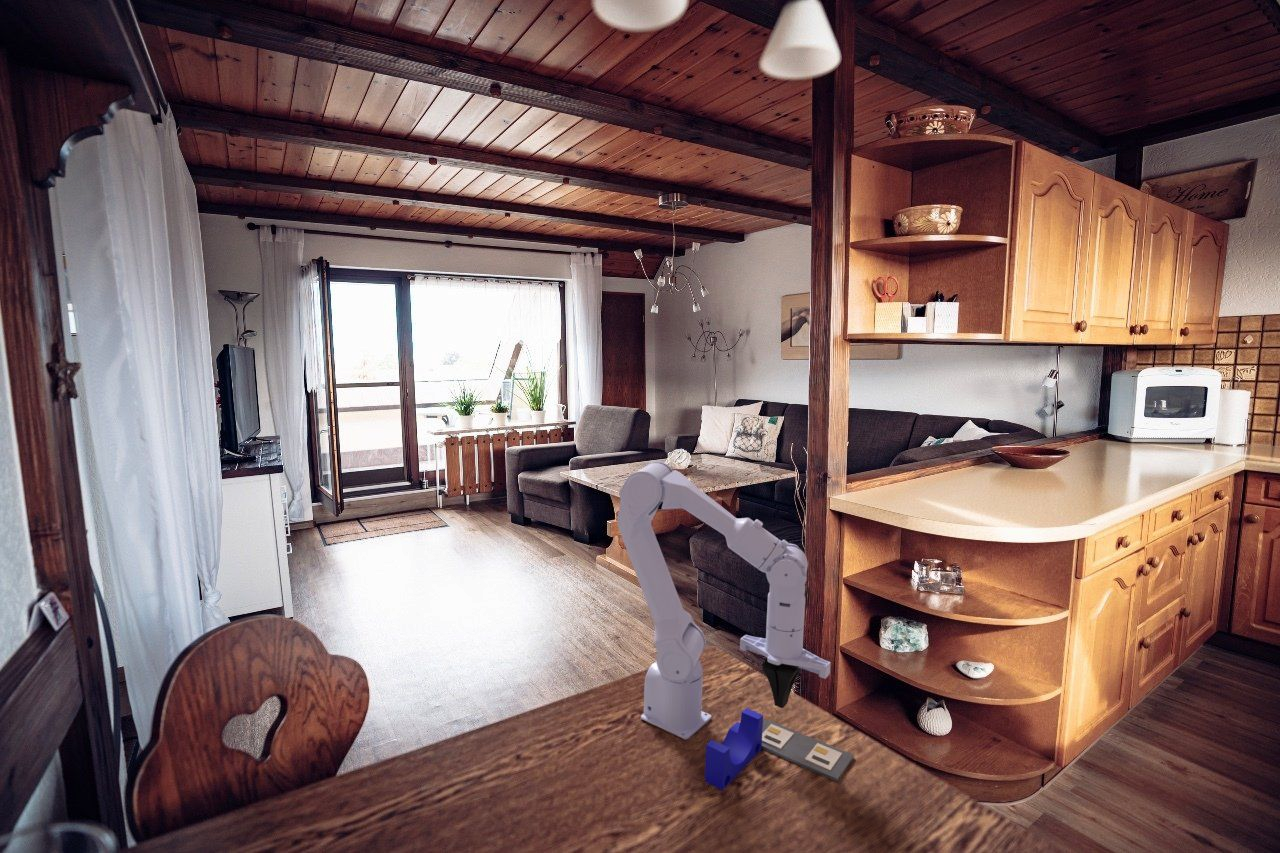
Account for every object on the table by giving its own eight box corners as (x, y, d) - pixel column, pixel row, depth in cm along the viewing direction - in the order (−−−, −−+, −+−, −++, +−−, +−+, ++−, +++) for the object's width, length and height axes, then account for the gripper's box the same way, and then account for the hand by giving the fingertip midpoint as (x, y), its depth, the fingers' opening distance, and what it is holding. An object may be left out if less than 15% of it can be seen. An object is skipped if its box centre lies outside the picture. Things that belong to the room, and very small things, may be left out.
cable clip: (736, 738, 103) (737, 704, 102) (761, 750, 100) (763, 715, 100) (696, 777, 94) (697, 740, 93) (722, 791, 91) (724, 753, 90)
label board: (746, 741, 102) (746, 737, 102) (765, 721, 108) (765, 717, 108) (837, 782, 93) (837, 777, 93) (853, 757, 99) (854, 753, 99)
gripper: (731, 619, 101) (728, 699, 103) (819, 647, 92) (815, 733, 94) (752, 605, 106) (749, 680, 108) (837, 630, 98) (832, 711, 100)
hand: (781, 704), depth 102 cm, fingers closed
